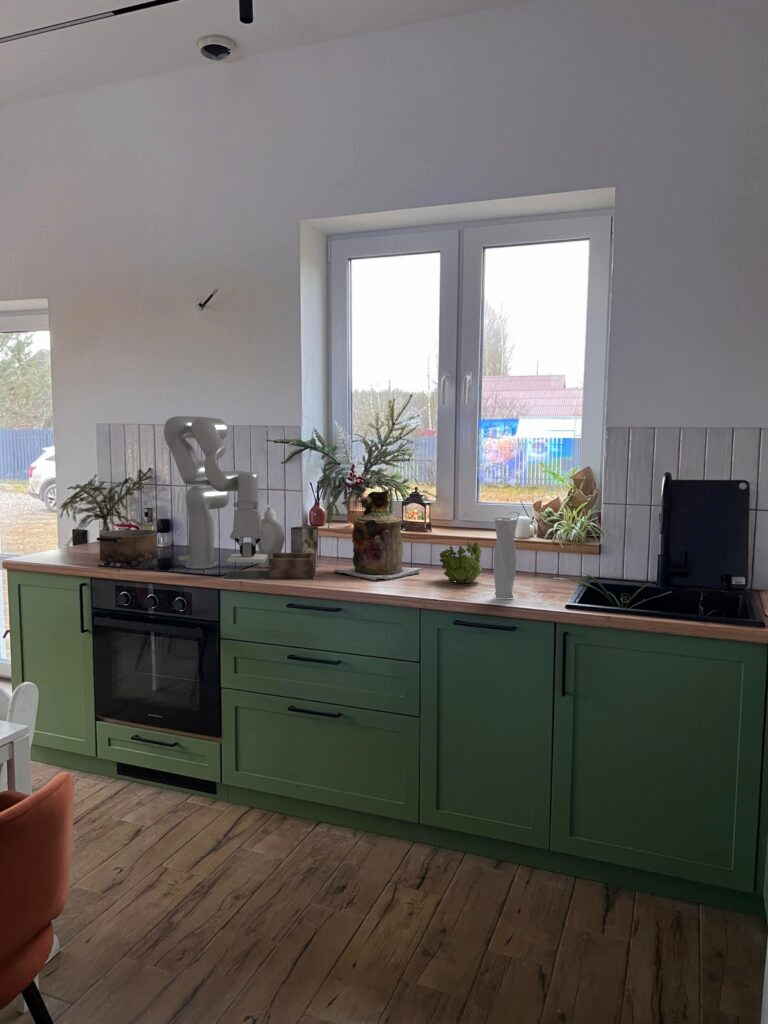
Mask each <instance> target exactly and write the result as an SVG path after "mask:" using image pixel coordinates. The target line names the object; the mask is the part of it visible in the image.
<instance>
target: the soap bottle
mask: <svg viewBox="0 0 768 1024" xmlns="http://www.w3.org/2000/svg"><path fill="white" fill-rule="evenodd" d="M273 507H274V505H273V504H266V505H263V506H262V508H267V509H266V511H265V512H264V514H263V515H264V518H263V519H262V518H261V521H262V530H263V532H264V534H265V536H266V538H265V539H263V540H261V541H259V542H258V543H257V544H256V546H257V548H258V551H259V554H267V559H266V560H265V561H264V562H258V567H260V566H261V568H262V567H263V568H267V567H269V562H268V559H269V558H273V553H282V550H283V546H284V544H285V538H286V537H285V530H284V525H283V524H282V522H281V521H280V520H278V519H277V517H276V516H277V515H276V513H277V512H275V510H274V509H273ZM259 537H261V535H260V536H259ZM259 537H256V539H258V538H259Z"/></svg>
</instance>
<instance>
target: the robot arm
mask: <svg viewBox="0 0 768 1024" xmlns="http://www.w3.org/2000/svg"><path fill="white" fill-rule="evenodd" d="M228 429H229V428H228V426H227V423H226V422H225V421H224V420H223V419H221V418H215V417H214V418H213V417H206V416H194V415H193V416H188V415H187V416H186V415H179V416H178V415H177V416H176V415H175V416H172V417H170V418H168V419H167V420H166V422H165V423H164V428H163V436H164V437H163V438H164V441H165V444H166V445H167V447H168V449H169V450H170V452H171V454H172V456H173V459H174V461H175V464H176V467H177V470H178V473H179V475H180V477H181V480H182V482H183V483H184V484H185V485H188V486H191V487H189V489H187V491H186V493H185V504H186V509H187V516H188V519H187V520H188V555H187V554H186V556H184V555H178V557H177V560H178V562H185V564H184V567H185V568H186V569H195V570H198V569H199V570H200V569H202V570H203V569H204V570H205V569H206V568H207V569H212V568H213V567H214V568H217V567H219V562H218V561H215V528H214V527H215V522H214V518H213V516H212V514H211V512H210V511H209V510H217V509H222V508H223V509H224V508H225V507H227V506H228V505H229V501H230V493H229V492H237V494H236V499H237V500H236V502H233V503H232V505H233V507H235V508H236V509H235V510H234V515H233V525H232V527H233V528H232V531H231V534H230V535H229V538H230V539H231V540H233V541H235V542H236V543H237V544H238V545H239V554H241V556H243V543H244V538H251V542H252V546H251V556H254V554H257V547H256V546H257V543H258V542H259V541H261V540H263V539H265V538H266V536H265V534H264V532H263V530H262V521H261V520H262V515H261V514H262V513H261V510H260V509H259V475H258V474H257V473H256V472H250V471H249V472H247V471H246V472H245V471H242V470H222V469H221V468H220V467H219V465H218V462H217V460H220V459H221V458H222V457H223V456H224V455H225V454H226V453H227V449H228V448H227V445H226V444H225V442H224V441H223V440H224V439H226V437H228V432H229V430H228ZM185 438H186V439H185ZM187 439H195V441H196V443H197V444H198V445H199V448H200V449H201V451H202V453H203V454H204V456H205V458H204V460H201V459H199V457H198V456H197V452H196V450H195V448H194V447H193V445H192V444H190V442H188V441H187ZM260 535H261V537H259V536H260ZM256 537H259V538H258V539H256ZM214 568H213V569H214ZM207 569H206V570H207Z"/></svg>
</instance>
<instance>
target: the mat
mask: <svg viewBox="0 0 768 1024" xmlns="http://www.w3.org/2000/svg"><path fill="white" fill-rule="evenodd" d="M268 577H269V569H267V570H263V569H261V570H259V569H258V570H257V569H254V570H253V569H251V570H248V569H246V570H245V569H238V570H237V569H231V570H229V571H228V572H227V574H226V575H225V576H224V577H223V579H224V580H225V579H228V580H231V579H234V580H238V579H240V580H241V579H242V580H243V579H245V580H266V579H267V578H268Z"/></svg>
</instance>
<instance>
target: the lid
mask: <svg viewBox="0 0 768 1024" xmlns="http://www.w3.org/2000/svg"><path fill="white" fill-rule="evenodd" d="M251 546H252V541H243V556H241V554H240V553H232V554H231V555H230V556H229V557H228V558H227V563H259V562H264V561H265V560H266V559H267V554H260V553H256V554H254V556H251Z"/></svg>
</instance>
